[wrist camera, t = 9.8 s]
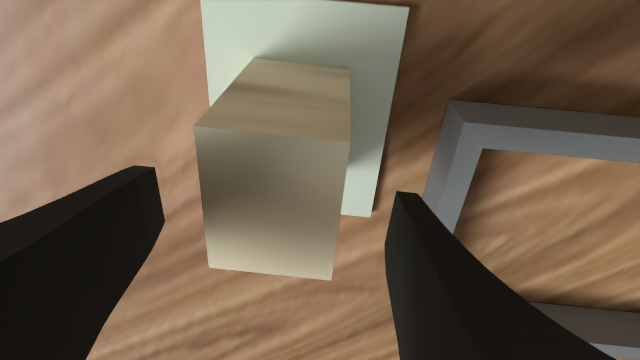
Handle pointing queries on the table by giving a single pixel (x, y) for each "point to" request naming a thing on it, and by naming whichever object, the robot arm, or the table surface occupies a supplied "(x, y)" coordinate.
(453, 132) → the gray rectangular frame
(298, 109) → the birch block
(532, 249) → the table surface
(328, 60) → the mat
